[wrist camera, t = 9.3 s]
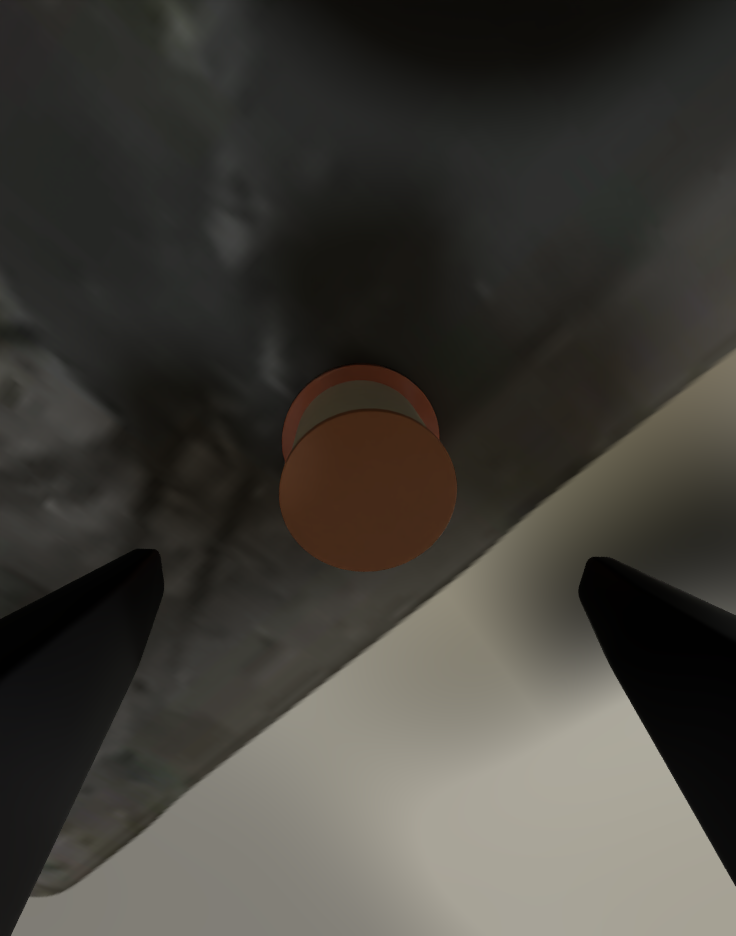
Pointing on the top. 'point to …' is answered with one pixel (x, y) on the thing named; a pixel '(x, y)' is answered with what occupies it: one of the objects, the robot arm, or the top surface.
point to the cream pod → (366, 479)
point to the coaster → (351, 374)
